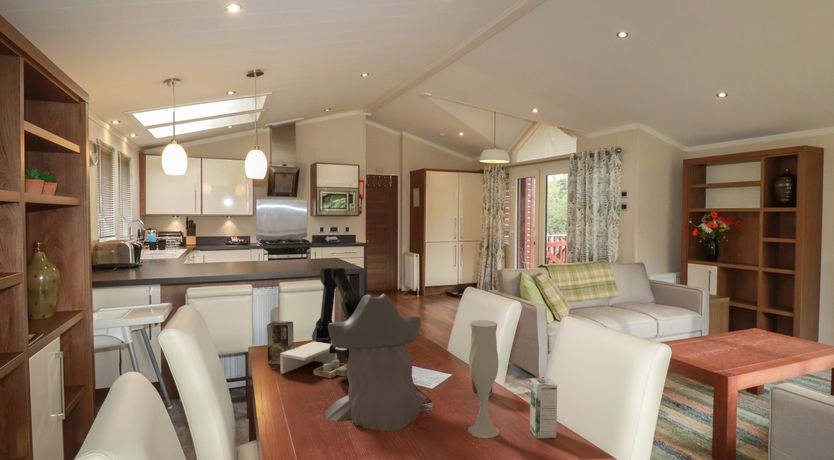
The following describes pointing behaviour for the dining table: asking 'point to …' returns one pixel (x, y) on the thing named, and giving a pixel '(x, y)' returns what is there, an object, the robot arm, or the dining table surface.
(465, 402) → the dining table surface
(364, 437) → the dining table surface
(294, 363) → the cream flanged slab
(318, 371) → the beige flat piece
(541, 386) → the syrup box
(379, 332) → the grey sculpted piece
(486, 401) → the vase
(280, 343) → the coffee box
